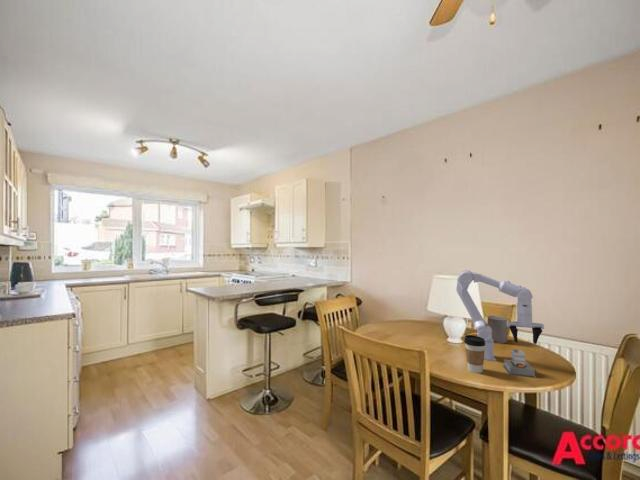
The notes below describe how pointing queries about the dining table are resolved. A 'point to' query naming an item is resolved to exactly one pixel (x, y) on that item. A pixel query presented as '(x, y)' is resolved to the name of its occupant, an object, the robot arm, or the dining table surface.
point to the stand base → (519, 369)
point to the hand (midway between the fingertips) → (525, 342)
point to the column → (518, 357)
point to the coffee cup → (474, 353)
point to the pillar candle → (498, 328)
